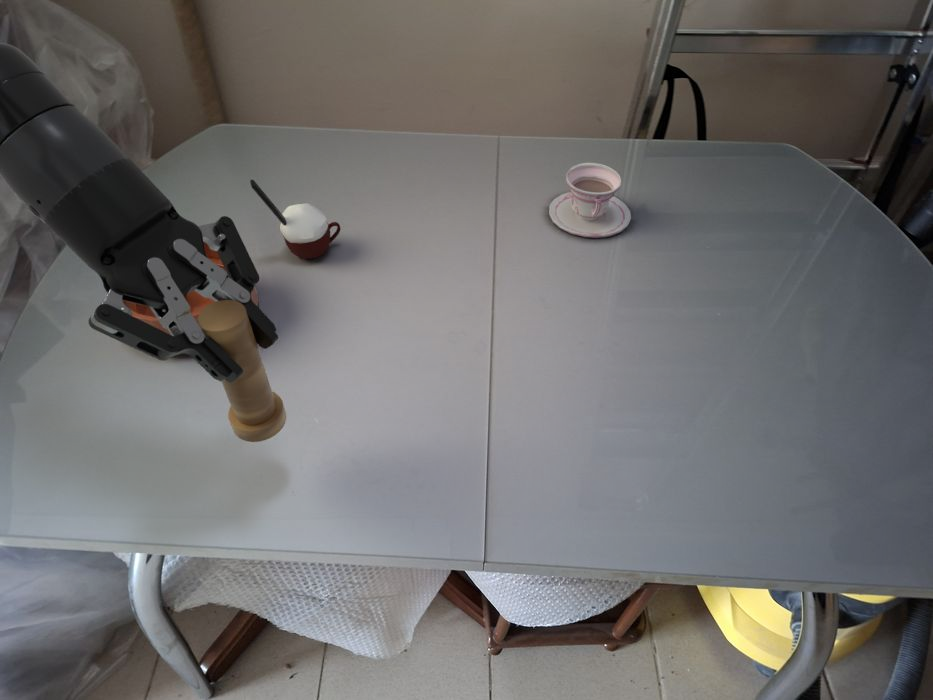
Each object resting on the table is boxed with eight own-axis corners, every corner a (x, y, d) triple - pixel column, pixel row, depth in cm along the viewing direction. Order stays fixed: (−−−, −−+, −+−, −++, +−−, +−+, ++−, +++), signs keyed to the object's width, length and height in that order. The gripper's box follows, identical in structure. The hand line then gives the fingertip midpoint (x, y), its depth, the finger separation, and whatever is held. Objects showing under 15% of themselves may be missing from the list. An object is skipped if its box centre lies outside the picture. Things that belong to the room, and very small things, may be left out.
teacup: (543, 194, 101) (547, 157, 96) (620, 192, 101) (627, 155, 97) (554, 240, 92) (559, 202, 88) (639, 238, 93) (647, 200, 88)
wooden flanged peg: (247, 451, 57) (204, 346, 48) (223, 417, 60) (179, 311, 50) (296, 424, 59) (264, 318, 50) (271, 392, 62) (237, 286, 53)
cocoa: (344, 238, 92) (332, 161, 84) (337, 266, 88) (324, 187, 79) (277, 237, 92) (258, 160, 84) (267, 265, 88) (246, 186, 80)
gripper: (4, 216, 40) (209, 412, 45) (173, 121, 49) (329, 294, 54) (-8, 260, 46) (175, 431, 51) (146, 168, 55) (290, 320, 60)
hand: (254, 359), depth 52 cm, fingers closed on wooden flanged peg, 3 cm apart
